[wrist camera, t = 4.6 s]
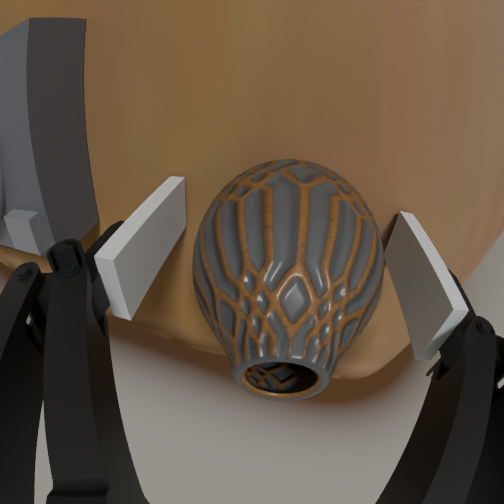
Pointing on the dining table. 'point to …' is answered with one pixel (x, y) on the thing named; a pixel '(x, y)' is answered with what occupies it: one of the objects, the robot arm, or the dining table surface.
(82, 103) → the grey dome button box
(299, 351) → the vase
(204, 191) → the dining table surface
